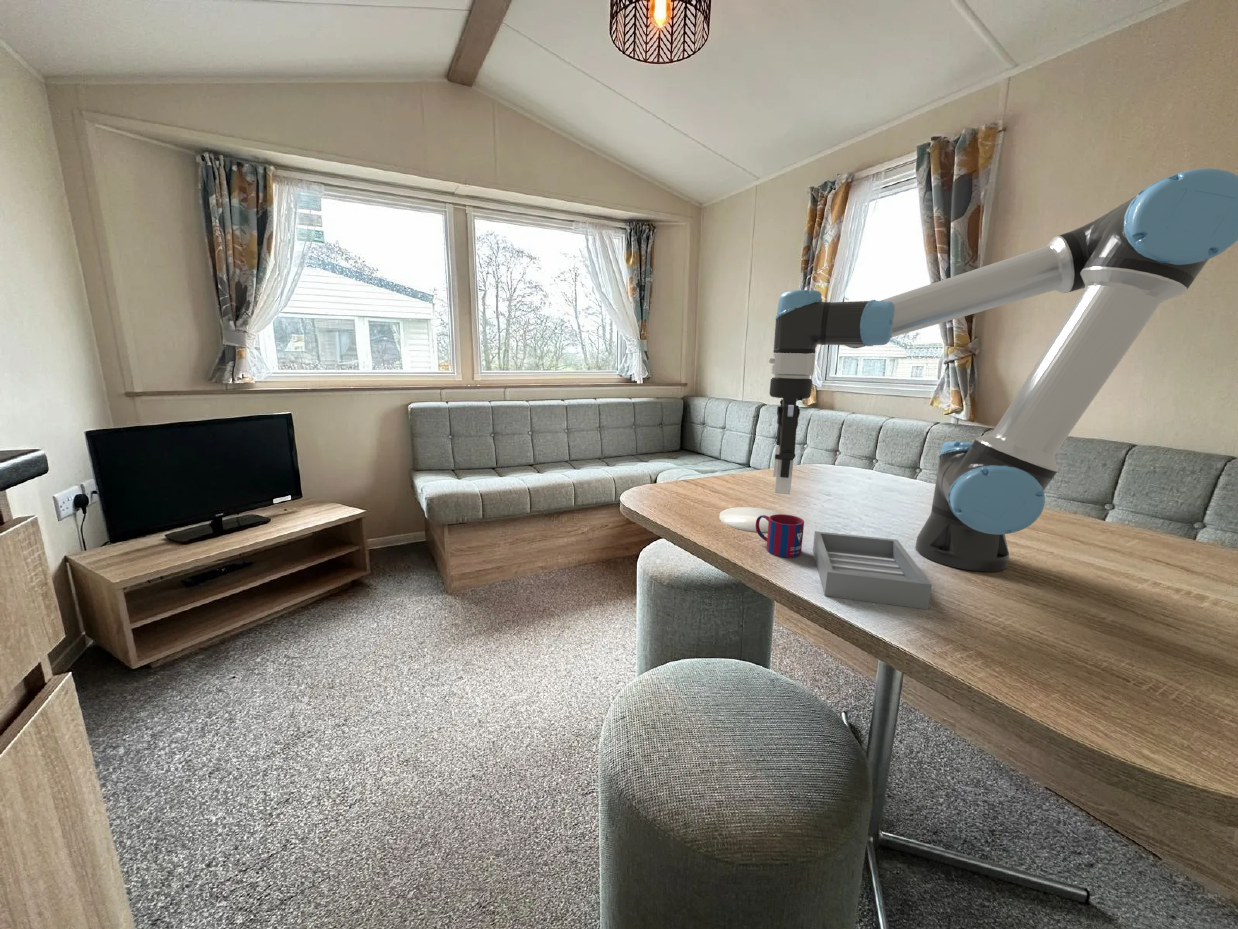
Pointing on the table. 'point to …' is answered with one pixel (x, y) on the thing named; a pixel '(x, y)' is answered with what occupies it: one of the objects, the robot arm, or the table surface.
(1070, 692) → the table surface
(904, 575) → the rack
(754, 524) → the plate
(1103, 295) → the robot arm
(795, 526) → the mug
